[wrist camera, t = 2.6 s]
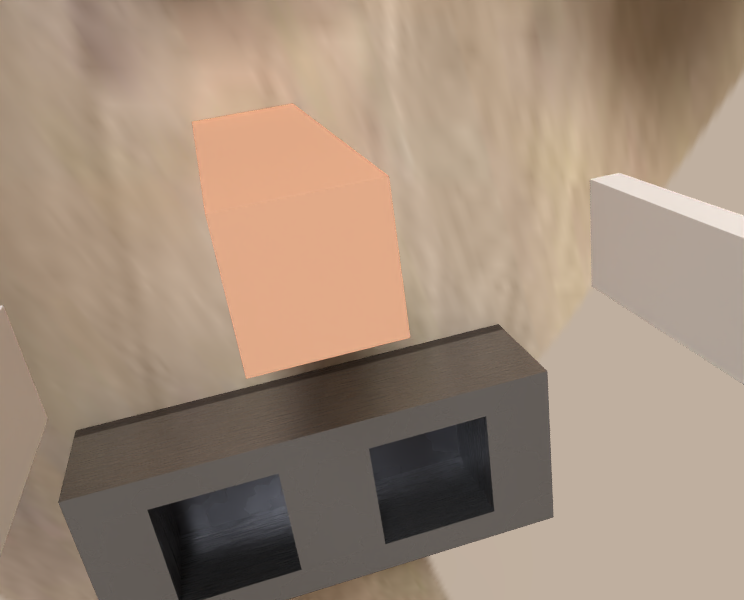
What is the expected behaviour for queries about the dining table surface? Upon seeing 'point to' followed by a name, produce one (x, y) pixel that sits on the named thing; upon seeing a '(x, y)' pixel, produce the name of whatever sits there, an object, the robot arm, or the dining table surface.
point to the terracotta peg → (299, 239)
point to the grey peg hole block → (314, 474)
